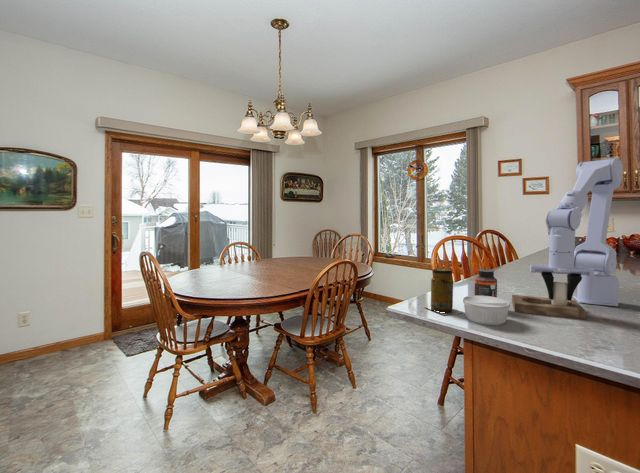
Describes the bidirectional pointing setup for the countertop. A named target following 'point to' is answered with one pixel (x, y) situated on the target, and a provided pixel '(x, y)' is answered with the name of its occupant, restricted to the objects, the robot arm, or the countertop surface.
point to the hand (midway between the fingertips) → (559, 299)
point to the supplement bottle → (486, 283)
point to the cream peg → (560, 293)
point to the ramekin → (486, 309)
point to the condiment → (442, 292)
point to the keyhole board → (547, 307)
